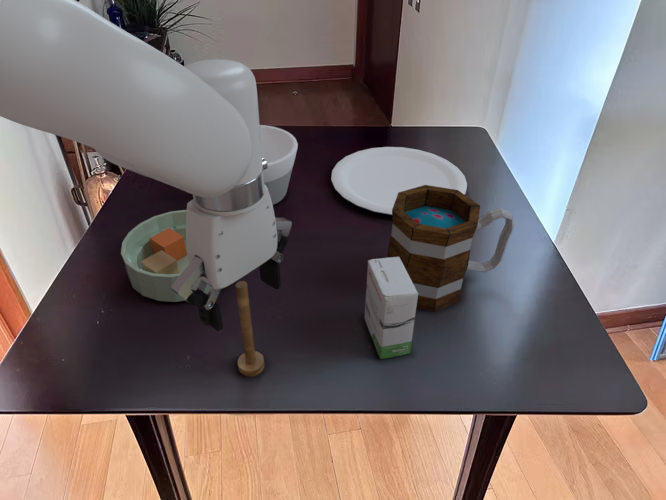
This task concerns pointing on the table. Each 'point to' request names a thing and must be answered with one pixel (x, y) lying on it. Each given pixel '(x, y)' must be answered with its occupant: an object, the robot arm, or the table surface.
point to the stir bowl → (140, 248)
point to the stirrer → (247, 335)
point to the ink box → (390, 306)
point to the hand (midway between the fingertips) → (242, 303)
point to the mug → (440, 241)
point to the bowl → (277, 160)
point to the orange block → (169, 244)
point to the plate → (391, 176)
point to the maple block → (160, 264)
